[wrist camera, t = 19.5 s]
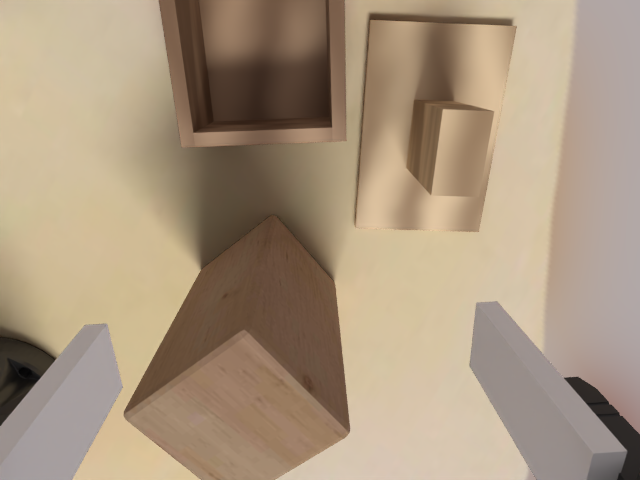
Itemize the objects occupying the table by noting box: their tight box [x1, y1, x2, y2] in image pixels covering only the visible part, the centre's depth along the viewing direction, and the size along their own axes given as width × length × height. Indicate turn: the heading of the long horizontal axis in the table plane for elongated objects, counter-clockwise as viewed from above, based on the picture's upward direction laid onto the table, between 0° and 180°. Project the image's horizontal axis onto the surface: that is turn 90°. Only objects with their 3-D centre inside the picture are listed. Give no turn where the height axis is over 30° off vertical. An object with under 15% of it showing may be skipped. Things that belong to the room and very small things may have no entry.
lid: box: [355, 20, 517, 232], centre depth 35 cm, size 12×18×10 cm, turn 178°
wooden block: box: [124, 215, 350, 480], centre depth 35 cm, size 10×10×20 cm
